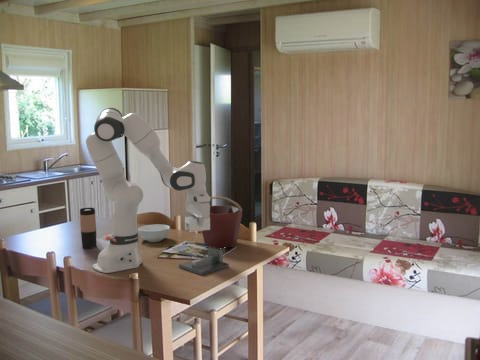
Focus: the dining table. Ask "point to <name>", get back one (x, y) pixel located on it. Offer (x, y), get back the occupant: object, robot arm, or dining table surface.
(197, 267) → the coupler plate
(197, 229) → the block
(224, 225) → the bucket
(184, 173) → the robot arm
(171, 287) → the dining table surface
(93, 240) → the travel mug
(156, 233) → the cereal bowl
